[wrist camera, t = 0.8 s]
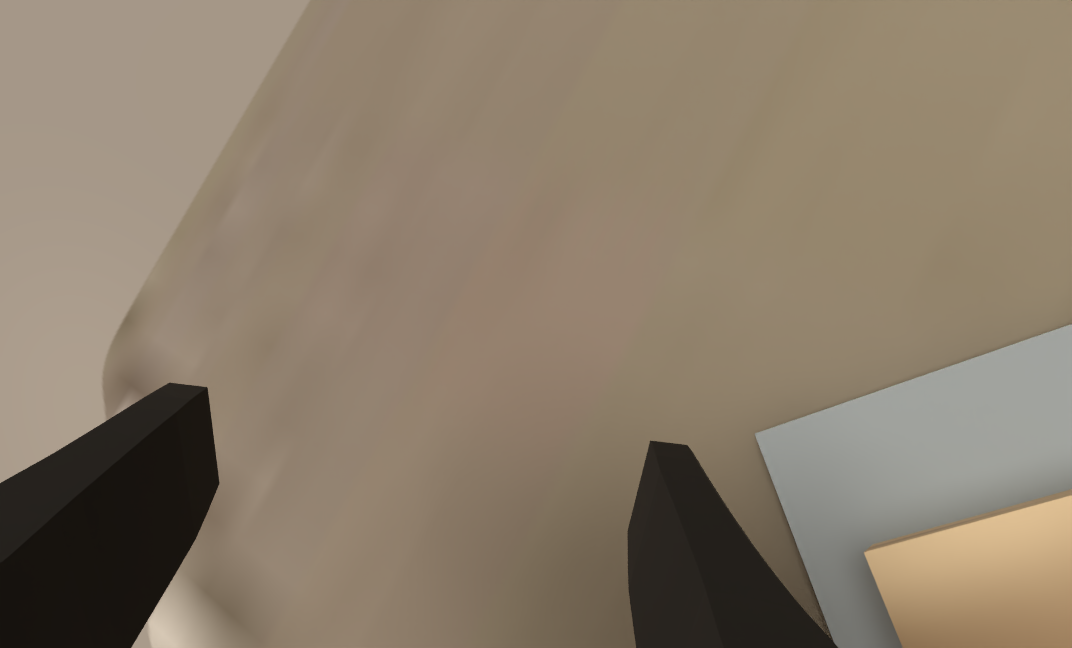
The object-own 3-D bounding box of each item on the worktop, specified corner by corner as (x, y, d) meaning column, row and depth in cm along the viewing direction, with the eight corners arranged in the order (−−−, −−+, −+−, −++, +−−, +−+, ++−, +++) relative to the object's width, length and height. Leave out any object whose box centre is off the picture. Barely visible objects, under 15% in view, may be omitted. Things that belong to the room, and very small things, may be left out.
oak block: (1246, 733, 17) (1328, 791, 14) (970, 778, 19) (981, 839, 16) (1108, 478, 19) (1150, 473, 16) (872, 544, 21) (864, 552, 18)
